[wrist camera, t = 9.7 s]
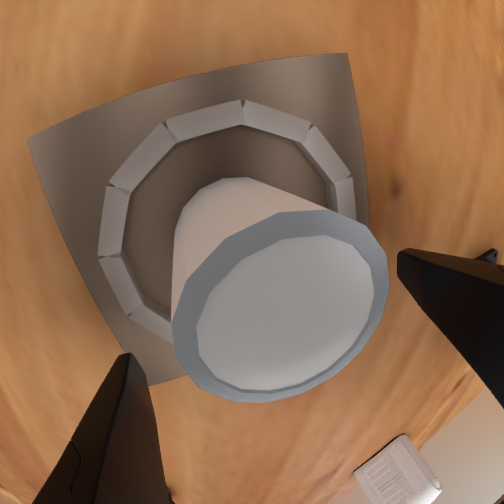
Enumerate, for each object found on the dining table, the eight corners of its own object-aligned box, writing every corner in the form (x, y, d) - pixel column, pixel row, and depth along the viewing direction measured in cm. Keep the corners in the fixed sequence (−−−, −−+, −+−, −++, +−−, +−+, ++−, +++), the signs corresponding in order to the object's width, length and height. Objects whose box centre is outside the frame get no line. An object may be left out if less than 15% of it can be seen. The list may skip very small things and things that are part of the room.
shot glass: (323, 244, 16) (409, 320, 10) (218, 321, 17) (257, 428, 11) (257, 132, 13) (346, 154, 7) (129, 226, 13) (114, 324, 7)
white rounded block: (362, 472, 39) (396, 528, 28) (347, 474, 37) (383, 534, 26) (409, 433, 37) (452, 489, 26) (398, 432, 35) (443, 494, 24)
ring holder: (336, 55, 13) (358, 50, 12) (363, 294, 20) (379, 310, 19) (34, 137, 11) (18, 141, 9) (147, 375, 18) (149, 398, 16)
